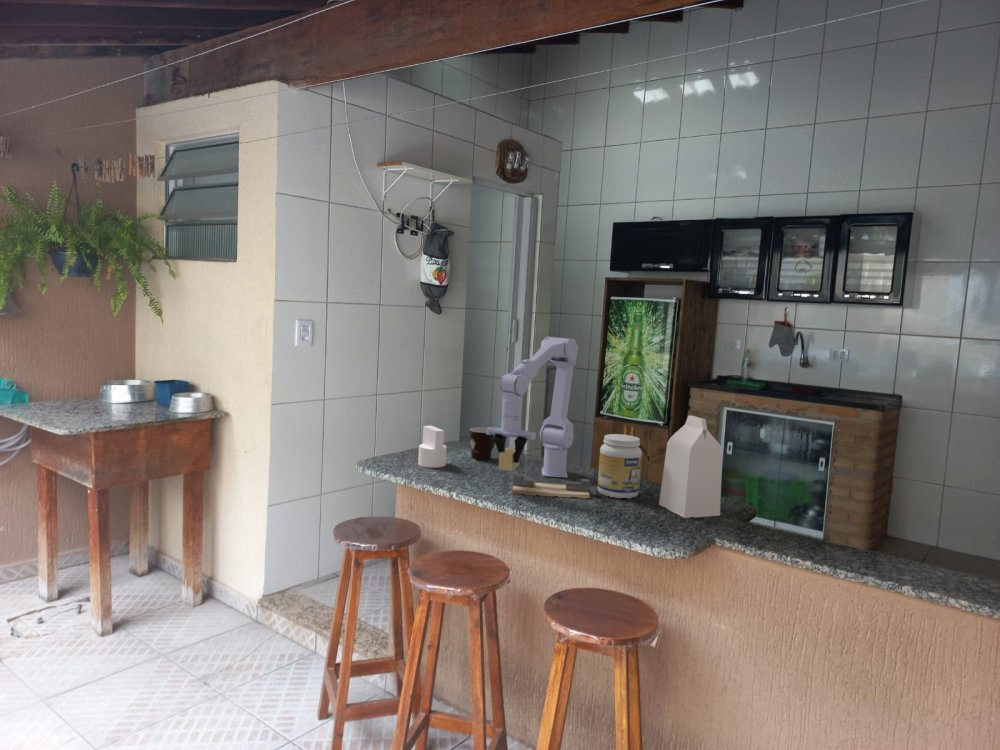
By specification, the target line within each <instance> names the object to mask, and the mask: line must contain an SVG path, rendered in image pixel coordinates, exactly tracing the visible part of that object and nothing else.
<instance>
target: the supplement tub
mask: <svg viewBox="0 0 1000 750" xmlns="http://www.w3.org/2000/svg"><path fill="white" fill-rule="evenodd" d="M603 437H604V438H603V444H601V446H600V449H599V460H598V461H599V463H598V476H597V491H598V492H599V494H601V495H603V496H605V497H608V496H609V497H610V498H613V497H614V498H613V499H621V498H627V499H633V497H634V498H635V497H638V496H639V492H640V483H641V473H642V472H641V471H642V457H643V450H642V448H641V447H639V446H640V445H641V439H640V438H639V437H637V436H634V435H631V434H629V435H628V434H619V433H610V434H605V435H604V436H603Z"/></svg>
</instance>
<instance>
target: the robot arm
mask: <svg viewBox="0 0 1000 750" xmlns="http://www.w3.org/2000/svg"><path fill="white" fill-rule="evenodd" d="M578 351H579V345H578V344H577V342H576V340H575V339H574V338H567V337H566V338H564V337H555V336H550V335H549V336H545V338H543V340H542V341H541V345H540V348H539V349H538V350H537V352H535V354H534V355H533V356H532V357H531V358H530V359H523V360H521V363H519V365H517V366H516V368H514V369H513V370H512V371H511V372H510V373H505V374H504V375H502V377H500V381H499V383H498V387H499V391H500V397H501V400H502V401H501V402H502V405H501V425H500V427H496V426H495V427H492V426H488V427H485V428H486V434H487V435H490V434H491V435H494V438H493V440H494V443H495V444H494V445H495V447H496V449H497V452H498V454H499V452H501V451H502V450H504V449H505V448H506V442H507V437H510V438H515V439H514V448H515V463H518V462H519V463H520V460H519V459H521V455H522V452H523V450H524V448H525V445H526V443H528V440H530V441H534V440H536V433H537V432H533V431H529V430H525V429H522V414H523V412H522V411H523V396H524V395H525V394H526V393H527V391H528V390H527V389H528V387H529V385H530V383H531V382H532V380H533V379H534V378H536V377H537V375H539V371H540V369H539V368H540V367H542V366H543V365H544V364H545V363H547V362H548V361H550V362H551V363H553V364H554V365H555V367H556V371H555V378H554V379H555V380H554V386H553V393H552V401H551V410H550V415H549V416H548V417H546V418H545V419H544V420H543V421H542V425H541V429H540V431H539V440H540V442H541V443H542V446H543V447H544V454H543V467H541V476H542V477H547V478H548V477H552V478H568V472H567V459H568V449H570V447H571V446H572V444H573V443H574V440H575V439H574V438H575V437H574V436H575V434H574V424H573V423H572V422H571V421H570V420H569V419H568V412H569V411H568V410H569V402H570V398H571V397H570V396H571V394H570V393H571V388H572V381H573V373H574V366H576V364H577V357H578Z"/></svg>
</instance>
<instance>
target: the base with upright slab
mask: <svg viewBox="0 0 1000 750" xmlns="http://www.w3.org/2000/svg"><path fill="white" fill-rule="evenodd" d="M444 438H445V430H443V429H441V428H438V427H436V426H433V425H423V428H422V443H421V444H419V445H418V466H420V467H425V468H430V469H431V468H433V469H434V468H443V467H445V466H446V465H447V448H448V447H447V445H446V444H444V442H445V441H444Z"/></svg>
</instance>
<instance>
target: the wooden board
mask: <svg viewBox="0 0 1000 750" xmlns="http://www.w3.org/2000/svg"><path fill="white" fill-rule="evenodd" d="M520 494H524V495H523V496H536V495H539V496H542V497H553V496H558V497H557V498H570V497H578V498H577V499H587V498H589V499H590V497H591V496H590V491H589V492H588V491H575V490H566V483H549V482H548V483H546V482H535V487H534V488H530V487H524V486H516V485H513V484H512V495H520ZM539 496H538V497H539ZM580 497H581V498H580Z"/></svg>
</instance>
